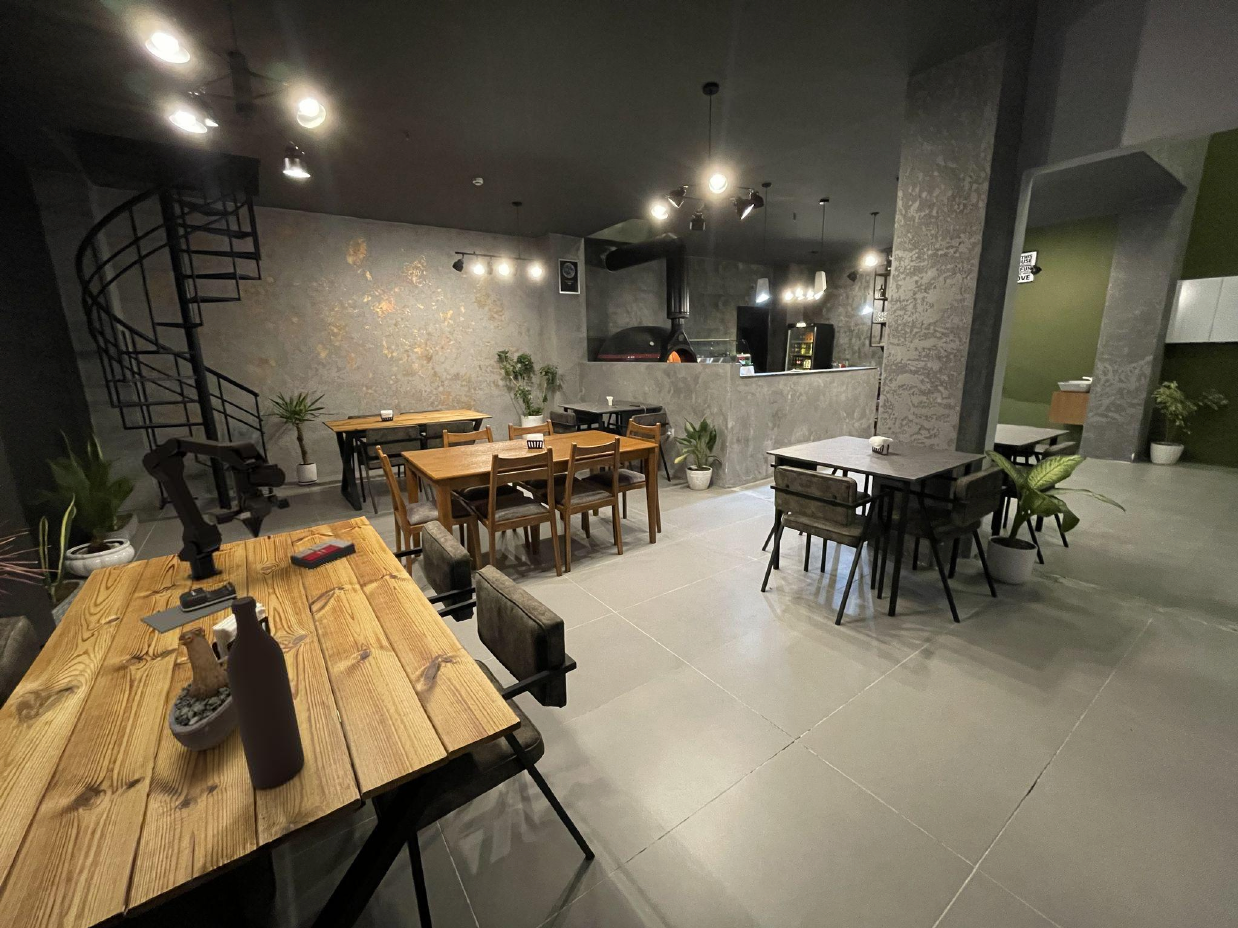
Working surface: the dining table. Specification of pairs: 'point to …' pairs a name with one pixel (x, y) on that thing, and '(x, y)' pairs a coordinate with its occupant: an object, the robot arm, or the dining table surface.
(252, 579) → the dining table surface
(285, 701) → the wine bottle
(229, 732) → the planter
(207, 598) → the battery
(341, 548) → the grey and red box
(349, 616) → the dining table surface
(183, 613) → the mat
